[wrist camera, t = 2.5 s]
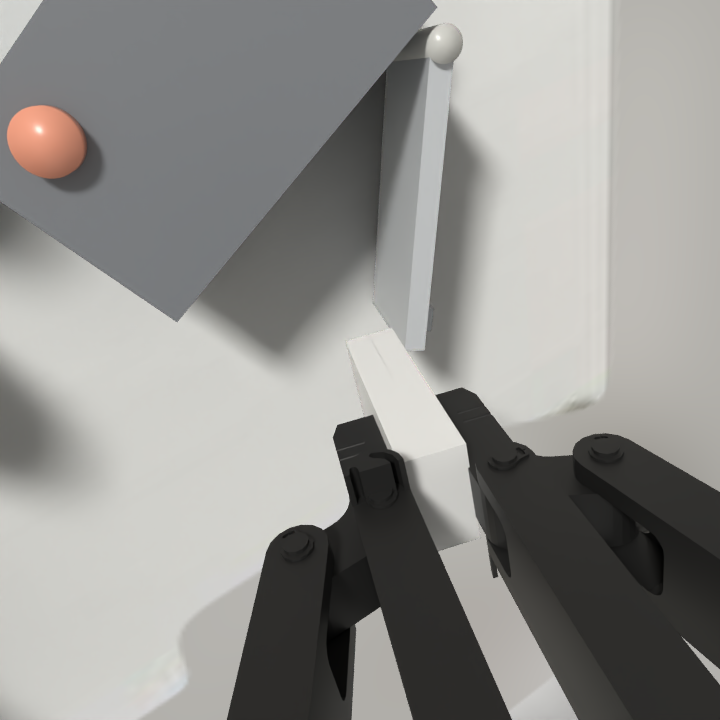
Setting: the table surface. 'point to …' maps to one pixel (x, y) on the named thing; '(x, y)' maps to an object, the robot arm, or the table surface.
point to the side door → (413, 180)
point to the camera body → (179, 122)
